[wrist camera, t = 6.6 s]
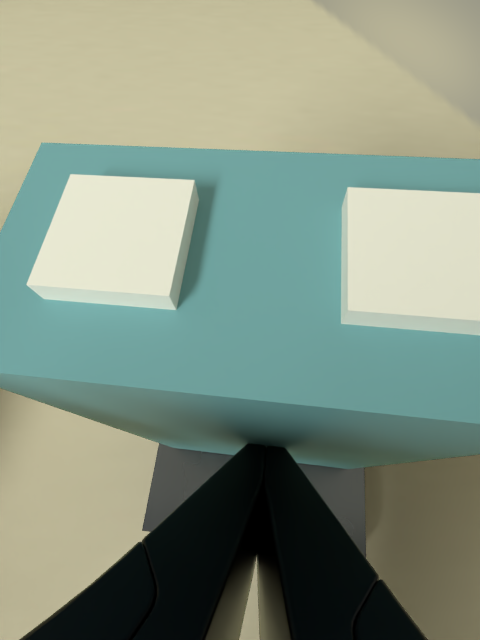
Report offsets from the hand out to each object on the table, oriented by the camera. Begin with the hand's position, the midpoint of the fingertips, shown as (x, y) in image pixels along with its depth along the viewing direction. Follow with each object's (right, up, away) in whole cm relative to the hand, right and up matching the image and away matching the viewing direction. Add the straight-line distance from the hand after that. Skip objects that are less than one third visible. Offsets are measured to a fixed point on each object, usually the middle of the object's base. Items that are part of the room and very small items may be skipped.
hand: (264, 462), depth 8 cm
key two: (0, 0, +5) cm, 5 cm away
